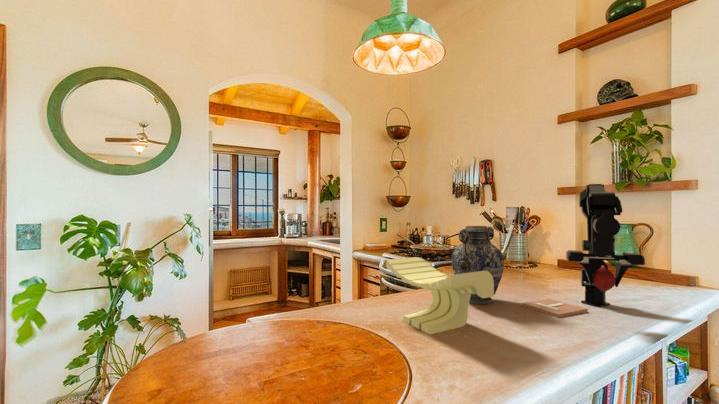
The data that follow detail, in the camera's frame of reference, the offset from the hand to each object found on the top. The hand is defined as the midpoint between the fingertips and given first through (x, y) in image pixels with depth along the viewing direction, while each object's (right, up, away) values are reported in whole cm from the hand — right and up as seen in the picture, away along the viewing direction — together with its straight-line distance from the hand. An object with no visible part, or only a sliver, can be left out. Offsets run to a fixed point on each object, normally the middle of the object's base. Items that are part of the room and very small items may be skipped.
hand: (603, 285), depth 103 cm
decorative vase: (-29, -12, +25) cm, 40 cm away
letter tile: (-7, -11, +14) cm, 19 cm away
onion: (0, -2, 0) cm, 2 cm away
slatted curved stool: (-51, -12, +1) cm, 52 cm away
